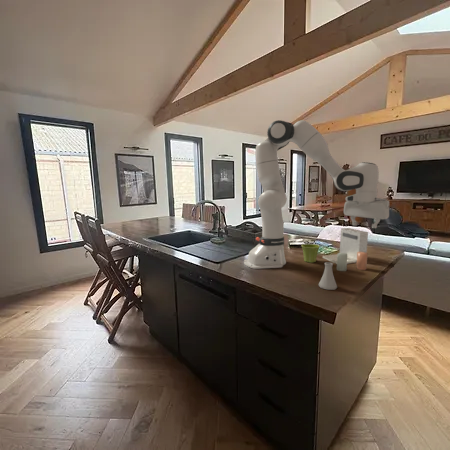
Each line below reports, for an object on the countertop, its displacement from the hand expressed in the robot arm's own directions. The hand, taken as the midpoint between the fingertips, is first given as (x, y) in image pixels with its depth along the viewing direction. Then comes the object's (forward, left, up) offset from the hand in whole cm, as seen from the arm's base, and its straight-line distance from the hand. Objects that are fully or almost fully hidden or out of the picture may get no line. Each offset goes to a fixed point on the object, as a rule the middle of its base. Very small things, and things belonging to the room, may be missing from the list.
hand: (364, 226), depth 123 cm
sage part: (-10, +2, -21) cm, 23 cm away
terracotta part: (0, 0, -21) cm, 21 cm away
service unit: (+3, +15, -21) cm, 26 cm away
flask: (-30, -13, -21) cm, 39 cm away
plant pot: (-16, +19, -21) cm, 33 cm away
